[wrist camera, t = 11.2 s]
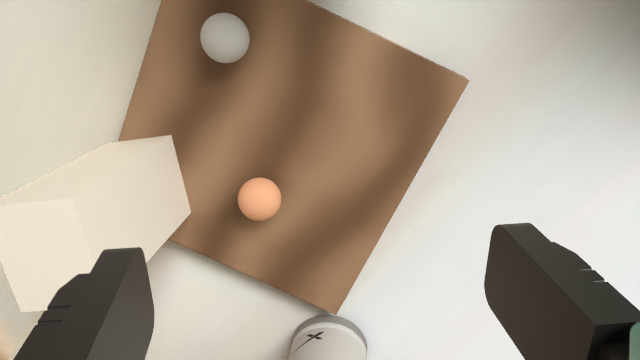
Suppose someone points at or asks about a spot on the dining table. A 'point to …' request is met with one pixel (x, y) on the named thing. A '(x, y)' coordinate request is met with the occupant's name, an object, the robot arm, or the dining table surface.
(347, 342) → the travel mug
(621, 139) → the dining table surface
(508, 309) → the robot arm
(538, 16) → the dining table surface
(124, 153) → the cream tall block
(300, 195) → the board
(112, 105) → the dining table surface
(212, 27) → the grey ball
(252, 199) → the ball
